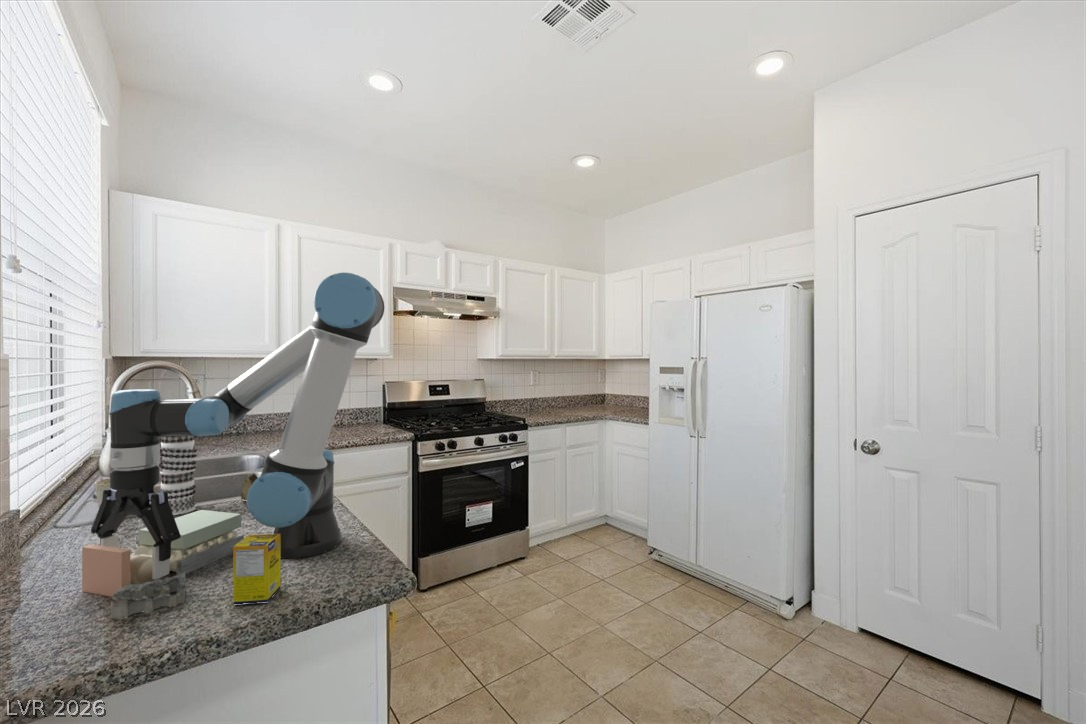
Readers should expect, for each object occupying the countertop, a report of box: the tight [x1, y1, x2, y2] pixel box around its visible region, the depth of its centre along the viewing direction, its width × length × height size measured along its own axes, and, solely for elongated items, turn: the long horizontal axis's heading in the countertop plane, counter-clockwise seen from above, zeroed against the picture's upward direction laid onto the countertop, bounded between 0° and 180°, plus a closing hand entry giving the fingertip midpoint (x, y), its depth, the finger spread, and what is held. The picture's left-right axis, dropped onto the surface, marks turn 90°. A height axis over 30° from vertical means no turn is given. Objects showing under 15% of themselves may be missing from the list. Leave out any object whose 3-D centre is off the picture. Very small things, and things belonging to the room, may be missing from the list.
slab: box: [138, 509, 242, 550], centre depth 106 cm, size 12×14×3 cm
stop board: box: [81, 543, 131, 598], centre depth 90 cm, size 10×2×8 cm, turn 76°
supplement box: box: [232, 533, 282, 605], centre depth 88 cm, size 6×6×11 cm
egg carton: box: [108, 572, 187, 620], centre depth 86 cm, size 11×8×4 cm
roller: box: [130, 554, 162, 584], centre depth 94 cm, size 9×5×5 cm, turn 76°
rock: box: [240, 472, 259, 500], centre depth 147 cm, size 11×9×10 cm
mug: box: [94, 477, 111, 509], centre depth 135 cm, size 8×13×10 cm, turn 58°
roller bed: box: [130, 530, 245, 576], centre depth 105 cm, size 14×16×5 cm
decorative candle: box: [158, 436, 198, 516], centre depth 138 cm, size 9×9×25 cm
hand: (134, 572), depth 95 cm, fingers open, 13 cm apart
